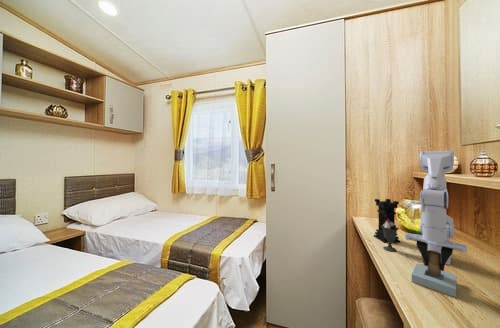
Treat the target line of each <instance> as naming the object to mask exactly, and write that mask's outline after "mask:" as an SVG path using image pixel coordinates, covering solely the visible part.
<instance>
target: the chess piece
mask: <svg viewBox="0 0 500 328" xmlns="http://www.w3.org/2000/svg"><path fill="white" fill-rule="evenodd" d="M374 202H375V205H376V206H377V207H378V209H377V213H378V229H377V228H376V229H375V232H374V235H373V237H374V238H376V240H379V241H380V242H382V243H384V244H387V243H388V241H387V240H386V239H385V237H384V232H383V228H382V227H381V225H383V224H384V223H385V222H386V220H387V218H388V220H390V221H391V222H393V223H394V225H396V224H395V220H396V219H395V218H396V217H395V215H397V213H396V212H395V209H398V205H399V204H400V202H399V201H397V200H393V201H391V198H385V200H383V201H381V200H380V199H378V198H374ZM385 215H386V216H387V217H386V216H385ZM393 243H395V244H396V243H397V244H398V243H401V240H400V237H399V236H398V232H397V233H396V239H395V240H394V241H393V242H391V244H393Z"/></svg>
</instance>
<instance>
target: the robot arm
mask: <svg viewBox="0 0 500 328" xmlns="http://www.w3.org/2000/svg"><path fill="white" fill-rule="evenodd" d="M419 164H420V169H421V170H422V171H423V172H426V173H427V175H425V176H424V178H423V185H422V186H423V188H422V190H420V196H419V197H420V201H419V202H420V206H421V212H422V214H421V215H420V221H419V222H420V223H419V230H420V233H421V234H416V233H410V232H406V233H405V240H406V241H414V242H416V244H415V245H416V247H417V249H418V251H419V253H420V254H421V257H422V258H421V259H422V260H423V265H424V266H427V267H428V254H427V251H428V250H432V251H436V252H439V253H441V267H440V270H441V271H444V272H445V266H446V265H448V266H450V265H451V261H452V255H453V253H454V251H457V252H461V253H463V254H468V245H467V244H463V243H458V242H455V241H451V240H452V239H454V238H455V225H454V219H453V218H452V217H451V216H449V215H448V214H447V209H448V208H449V193H448V188H447V178H446V177H445V176H446V174H447V173H450V172H452V171H453V169H454V165H455V151H454V150H453V149H450V150H421V151H420V153H419ZM445 206H446V207H445Z"/></svg>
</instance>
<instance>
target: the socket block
mask: <svg viewBox="0 0 500 328" xmlns="http://www.w3.org/2000/svg"><path fill="white" fill-rule="evenodd" d="M457 281H458V276H457V274H453V273H451V272H448V271H447V272H446V271H445V270H444V271H441V276H440V277H438V276H433V275H431V274H429V273H428V266H425V265H424V264H420V263H416V264H415V267H414V269H413V271H412V273H411V283H414V284H416V285H419V286H422V287H426V288H429V289H431V290H433V291H436V292H439V293H442V294H445V295H448V296H450V297H454V298H456V297H457V286H458V285H457V284H458V282H457Z"/></svg>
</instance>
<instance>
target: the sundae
mask: <svg viewBox="0 0 500 328" xmlns="http://www.w3.org/2000/svg"><path fill="white" fill-rule="evenodd" d="M385 216H386V215H385ZM386 217H387V216H386ZM381 227H382V228H383V232H384V237H385V239H386V240H387V241H388V244H387V246H386V245H385V246H383V249H384V250H385V251H388V252H392V253H395V252H397V249H396V248H394V247H393V245H392V243H391V242H393V241H394V240H395V239H396V236H397V235H396V233H397V234H398V231H399V229H400V228H399V227H397V224H395V225H394V223H393V222H391V221H390V220H388V218H387V220H386V222H385V223H384V224H383V225H381Z"/></svg>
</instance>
